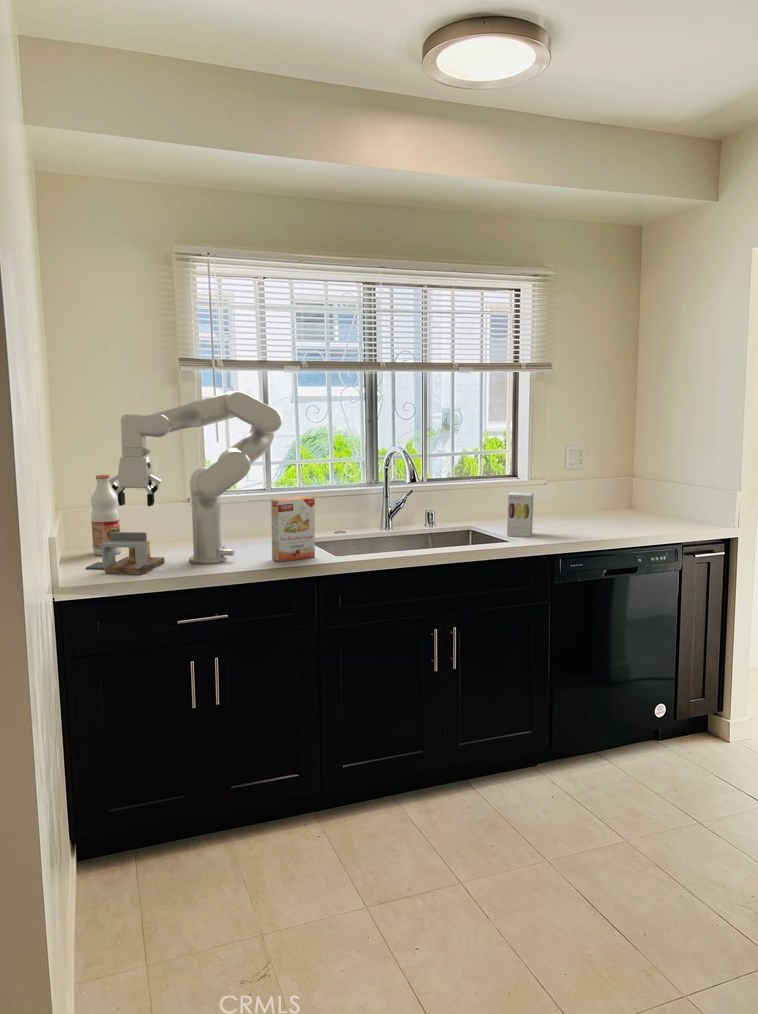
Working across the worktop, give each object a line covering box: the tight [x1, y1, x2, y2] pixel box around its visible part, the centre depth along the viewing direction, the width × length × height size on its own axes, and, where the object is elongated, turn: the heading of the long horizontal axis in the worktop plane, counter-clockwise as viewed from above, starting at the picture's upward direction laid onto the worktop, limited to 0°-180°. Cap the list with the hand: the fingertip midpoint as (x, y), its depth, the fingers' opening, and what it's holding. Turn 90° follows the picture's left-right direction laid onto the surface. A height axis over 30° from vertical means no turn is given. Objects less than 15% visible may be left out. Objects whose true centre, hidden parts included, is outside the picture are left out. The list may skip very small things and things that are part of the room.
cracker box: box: [270, 496, 316, 563], centre depth 256 cm, size 14×6×21 cm, turn 123°
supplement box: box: [506, 491, 534, 538], centre depth 299 cm, size 10×9×17 cm
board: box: [104, 556, 166, 575], centre depth 243 cm, size 13×16×2 cm
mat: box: [85, 561, 105, 570], centre depth 245 cm, size 8×8×1 cm
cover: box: [101, 531, 148, 569], centre depth 235 cm, size 12×7×10 cm, turn 84°
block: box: [128, 540, 151, 562], centre depth 246 cm, size 5×5×8 cm
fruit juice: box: [90, 474, 122, 556], centre depth 265 cm, size 9×9×28 cm
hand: (136, 505), depth 244 cm, fingers open, 9 cm apart
